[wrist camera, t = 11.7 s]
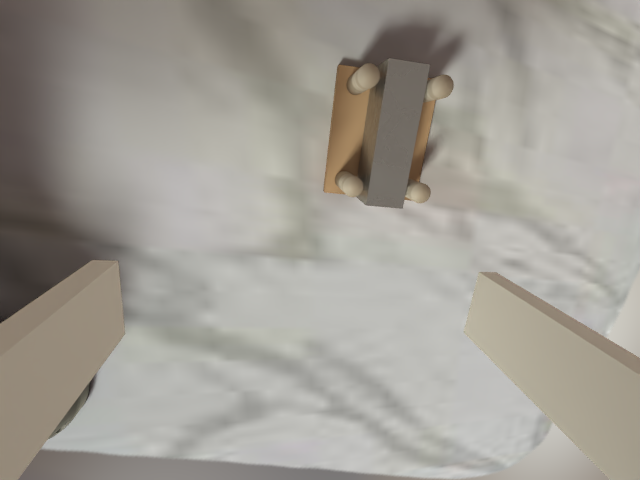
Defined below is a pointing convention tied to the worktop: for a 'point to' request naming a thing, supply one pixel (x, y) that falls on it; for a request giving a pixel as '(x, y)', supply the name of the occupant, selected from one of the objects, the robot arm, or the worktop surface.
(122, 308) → the robot arm
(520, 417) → the worktop surface
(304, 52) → the worktop surface
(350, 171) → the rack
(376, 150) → the bar
